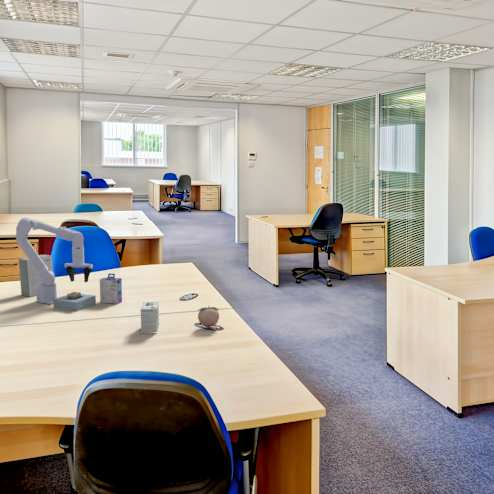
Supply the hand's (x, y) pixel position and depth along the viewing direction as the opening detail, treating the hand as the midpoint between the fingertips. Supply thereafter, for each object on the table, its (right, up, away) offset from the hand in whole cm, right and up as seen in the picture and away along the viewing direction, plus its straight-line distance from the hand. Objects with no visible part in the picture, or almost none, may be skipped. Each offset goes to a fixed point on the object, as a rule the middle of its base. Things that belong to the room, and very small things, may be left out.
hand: (79, 281), depth 266 cm
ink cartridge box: (+17, -10, -3) cm, 21 cm away
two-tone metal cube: (+1, -11, -11) cm, 16 cm away
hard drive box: (-27, -7, +13) cm, 31 cm away
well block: (+1, -11, -11) cm, 16 cm away
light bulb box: (+45, -18, -46) cm, 67 cm away
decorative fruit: (+70, -17, -43) cm, 84 cm away
